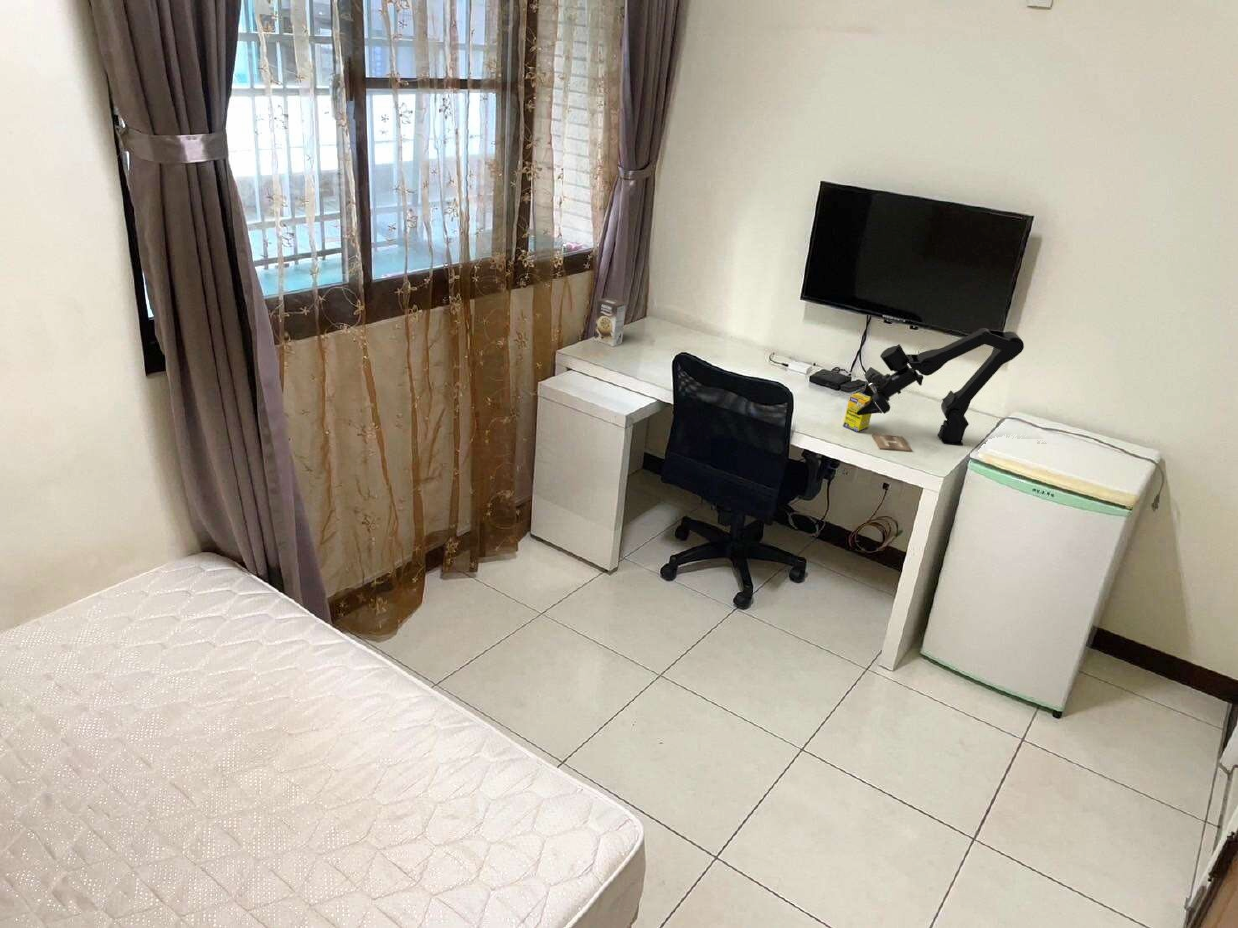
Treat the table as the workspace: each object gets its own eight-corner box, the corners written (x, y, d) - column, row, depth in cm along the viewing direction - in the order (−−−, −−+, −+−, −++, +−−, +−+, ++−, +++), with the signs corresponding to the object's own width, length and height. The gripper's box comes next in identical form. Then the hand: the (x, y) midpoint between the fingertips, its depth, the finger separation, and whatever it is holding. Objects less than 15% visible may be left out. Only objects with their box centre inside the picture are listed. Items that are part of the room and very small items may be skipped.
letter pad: (902, 438, 284) (902, 436, 283) (911, 452, 275) (911, 450, 275) (871, 435, 283) (871, 433, 283) (879, 449, 274) (879, 447, 274)
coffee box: (593, 340, 339) (596, 299, 332) (603, 336, 344) (607, 296, 336) (613, 347, 335) (616, 305, 327) (622, 343, 339) (626, 302, 332)
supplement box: (842, 426, 287) (849, 395, 282) (852, 422, 291) (859, 391, 286) (858, 433, 284) (865, 402, 279) (868, 428, 288) (875, 398, 283)
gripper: (880, 351, 285) (838, 379, 291) (888, 372, 268) (843, 401, 274) (899, 378, 288) (857, 404, 294) (908, 399, 271) (863, 427, 277)
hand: (855, 408), depth 285 cm, fingers open, 9 cm apart
